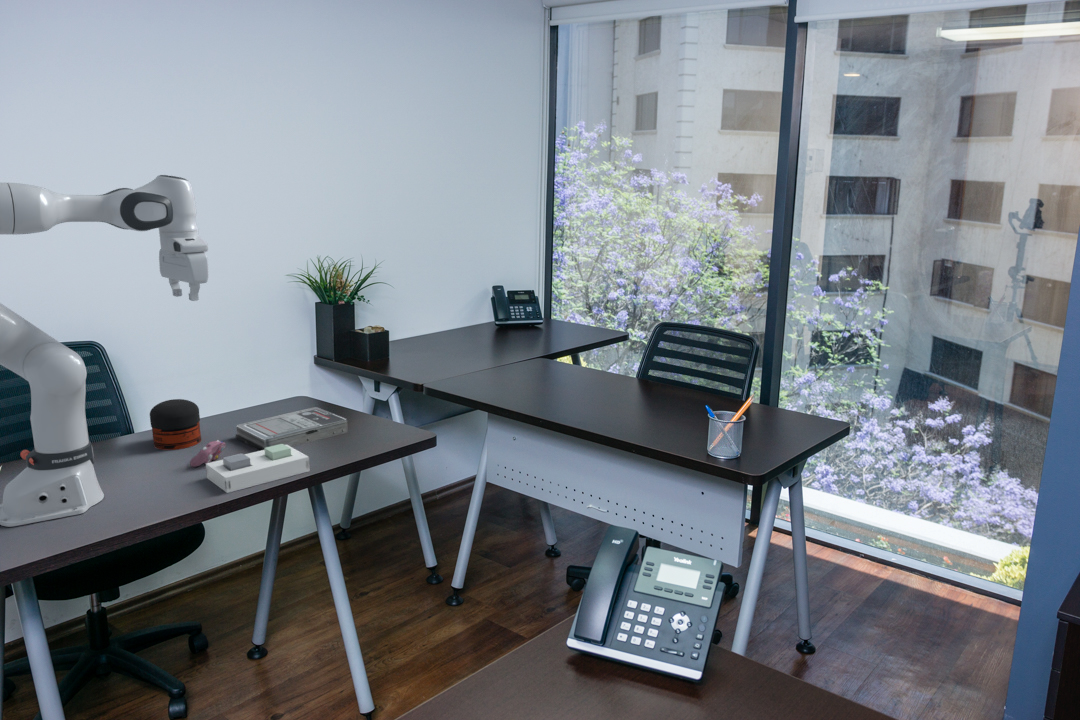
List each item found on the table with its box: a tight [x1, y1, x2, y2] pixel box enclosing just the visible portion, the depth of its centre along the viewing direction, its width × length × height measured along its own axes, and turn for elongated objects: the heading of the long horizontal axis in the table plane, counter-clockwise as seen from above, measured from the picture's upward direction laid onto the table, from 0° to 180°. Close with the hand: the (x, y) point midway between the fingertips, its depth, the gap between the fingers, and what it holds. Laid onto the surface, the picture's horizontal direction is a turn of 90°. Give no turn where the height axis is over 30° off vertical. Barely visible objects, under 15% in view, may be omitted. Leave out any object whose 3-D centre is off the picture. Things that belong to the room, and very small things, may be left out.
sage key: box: [264, 444, 291, 461], centre depth 213 cm, size 5×5×3 cm
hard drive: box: [235, 406, 349, 451], centre depth 241 cm, size 18×27×4 cm
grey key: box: [222, 452, 251, 471], centre depth 206 cm, size 5×5×3 cm
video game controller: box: [189, 439, 227, 468], centre depth 219 cm, size 10×5×7 cm, turn 168°
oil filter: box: [149, 398, 202, 451], centre depth 233 cm, size 13×12×13 cm
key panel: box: [205, 445, 311, 494], centre depth 210 cm, size 22×13×4 cm, turn 132°
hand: (185, 298), depth 202 cm, fingers open, 8 cm apart
